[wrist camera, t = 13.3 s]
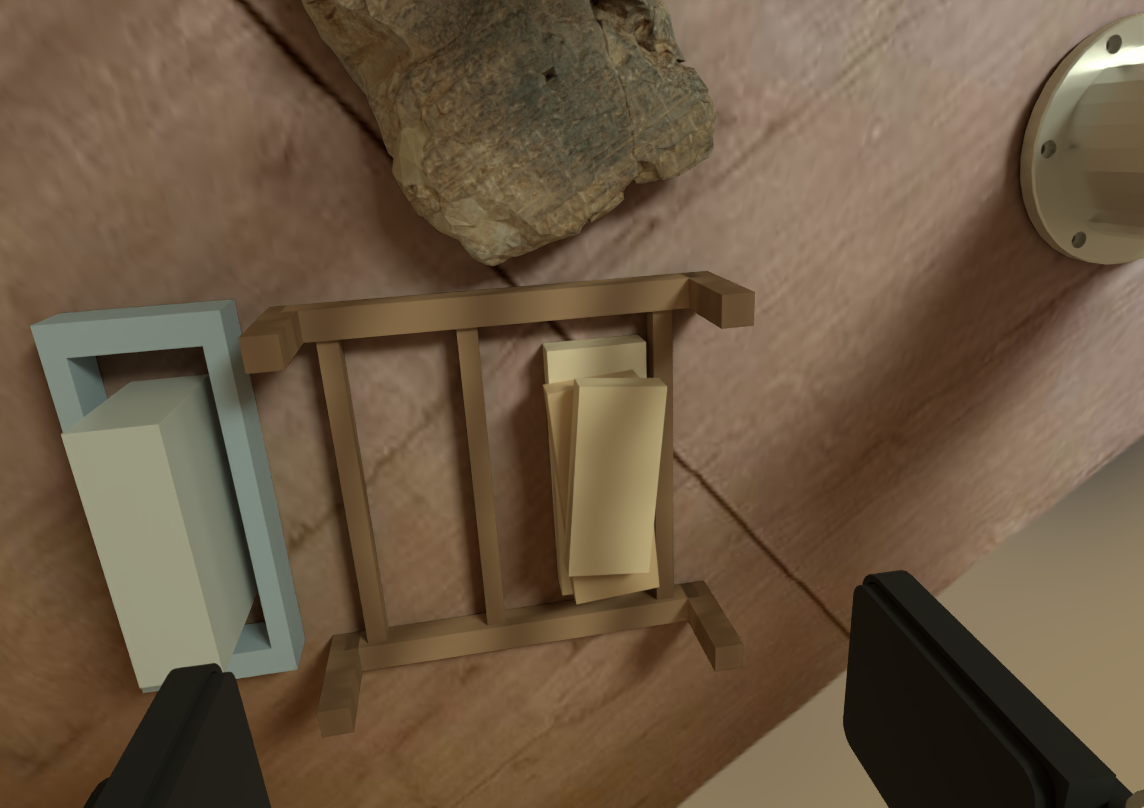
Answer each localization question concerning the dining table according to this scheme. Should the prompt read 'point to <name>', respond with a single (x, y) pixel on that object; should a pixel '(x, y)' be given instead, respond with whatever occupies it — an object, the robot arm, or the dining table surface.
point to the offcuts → (603, 464)
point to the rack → (496, 629)
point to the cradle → (216, 327)
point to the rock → (521, 108)
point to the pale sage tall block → (165, 523)
